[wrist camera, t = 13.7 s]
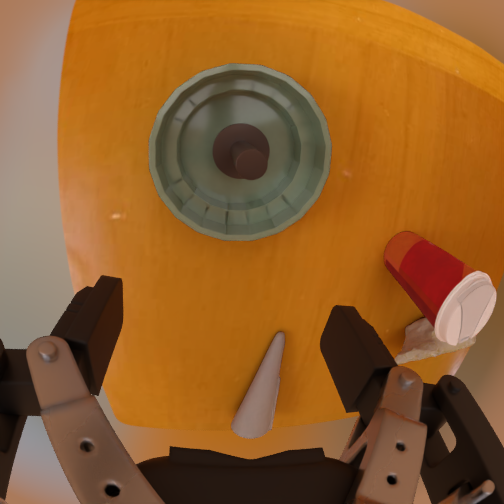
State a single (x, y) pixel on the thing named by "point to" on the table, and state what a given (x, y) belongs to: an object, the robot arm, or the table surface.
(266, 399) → the long tapered cone
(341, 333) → the robot arm
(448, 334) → the coffee cup
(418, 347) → the pale crumpled lump
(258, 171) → the brown capped cylinder
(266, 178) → the bowl
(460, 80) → the table surface
